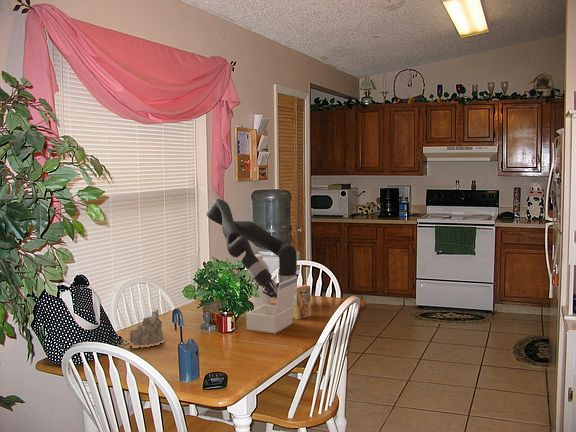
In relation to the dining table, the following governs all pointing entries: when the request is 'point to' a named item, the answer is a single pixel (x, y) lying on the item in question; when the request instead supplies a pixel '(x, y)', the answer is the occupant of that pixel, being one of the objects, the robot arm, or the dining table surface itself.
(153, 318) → the grey rock
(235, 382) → the dining table surface
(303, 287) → the candy box
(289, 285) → the lid
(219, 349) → the dining table surface
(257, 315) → the box
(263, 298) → the bottle
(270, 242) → the robot arm
